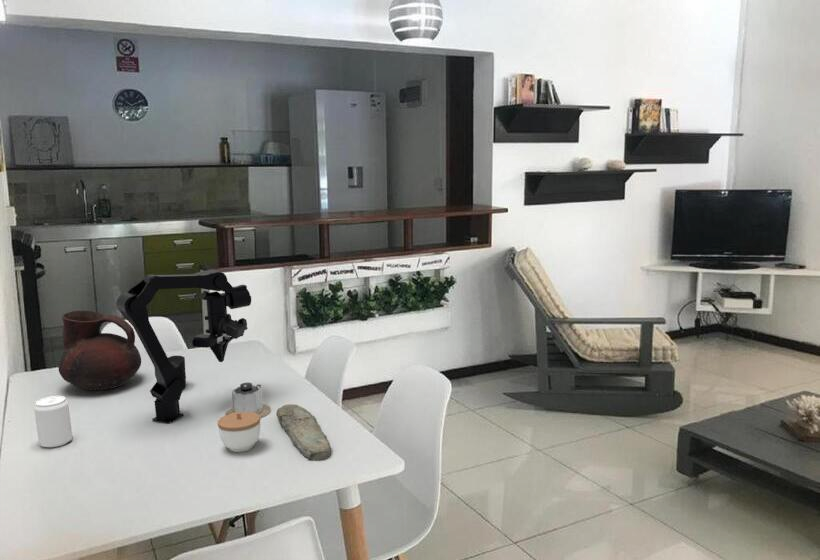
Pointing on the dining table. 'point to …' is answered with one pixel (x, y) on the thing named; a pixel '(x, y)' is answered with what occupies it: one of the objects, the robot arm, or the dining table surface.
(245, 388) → the dark round knob
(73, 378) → the jug
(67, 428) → the beverage can
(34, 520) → the dining table surface
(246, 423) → the lidded jar
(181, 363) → the pen holder
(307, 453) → the long grey stone
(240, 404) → the moka pot
